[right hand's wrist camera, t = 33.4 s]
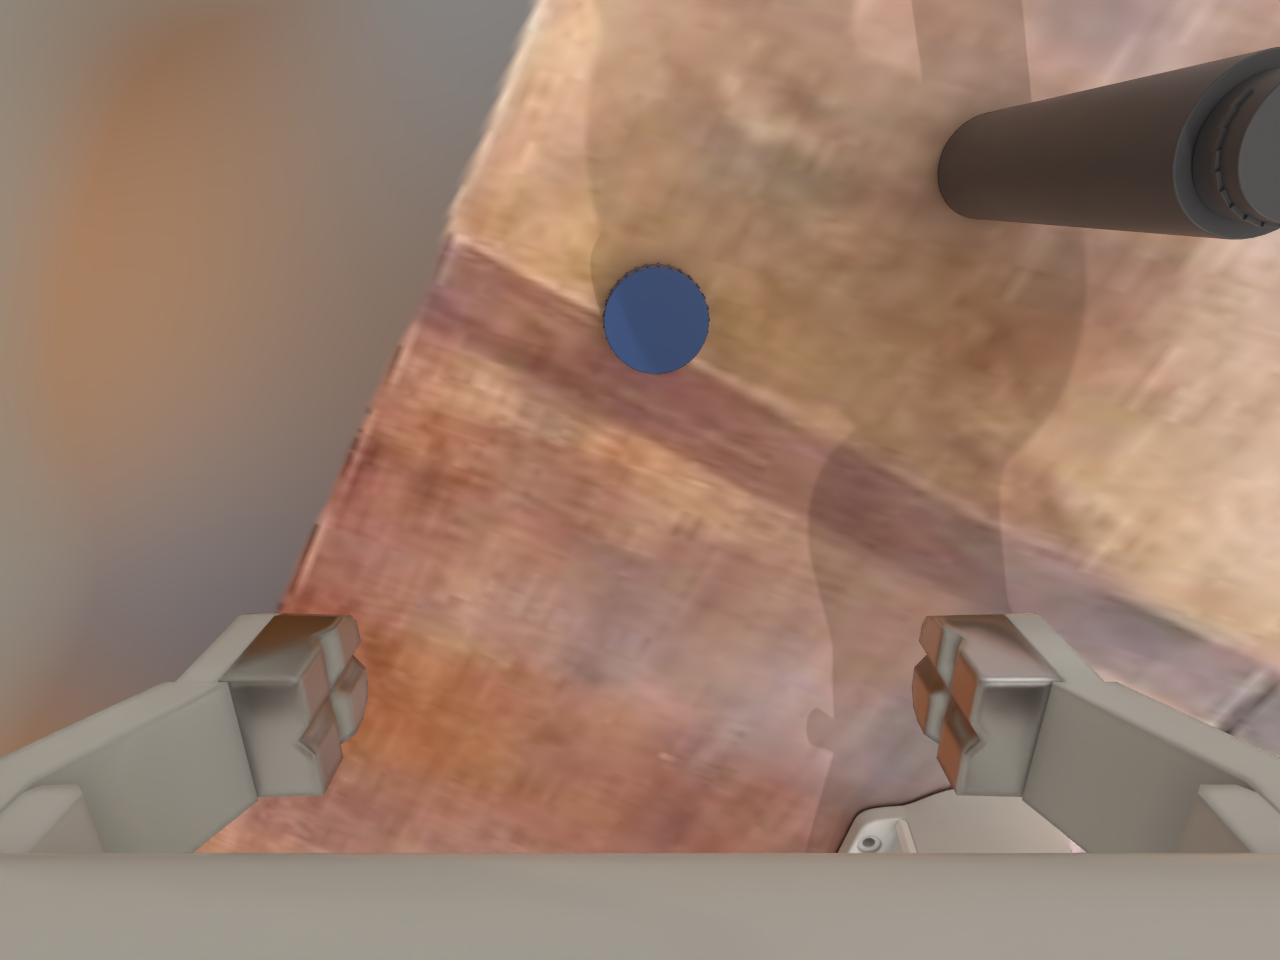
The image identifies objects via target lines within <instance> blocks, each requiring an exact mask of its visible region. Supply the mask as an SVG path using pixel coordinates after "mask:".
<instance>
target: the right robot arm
mask: <svg viewBox="0 0 1280 960" xmlns="http://www.w3.org/2000/svg"><path fill="white" fill-rule="evenodd" d="M360 642H361V639H360V634H359V629H358V625H357V621H356V620H355V619H354V618H353V617H352V616H351V615H330V614H278V613H252V614H251V613H250V614H244V615H240V616H238V617H237V618H236V619H235V620H234V621H233V622H232V623H231V624H230V625H229V626H228V627H227V628H226V630H225V631H224V632H223V633H222V634H221V635H220V636H219V637H218V638H217V639H216V640H215V641H214V642H213V643H212V644H211V645H210V646H209V647H208V648H207V649H206V650H205V651H204V653H203V654H202V655H201V656H200V657H199V658H198V659H197V660H196V661H195V662H194V663H193V664H192V665H191V666H190V667H189V668H188V669H187V670H186V671H185V672H184V673H183V674H182V676H181V677H180V678H179V679H178V680H177V681H176V682H163V683H160V684H158V685H156V686H154V687H152V688H150V689H147V690H145V691H143V692H141V693H139V694H137V695H134V696H132V697H130V698H128V699H126V700H124V701H121V702H119V703H117V704H115V705H113V706H111V707H109V708H106V709H104V710H102V711H100V712H98V713H96V714H93V715H91V716H89V717H87V718H85V719H83V720H81V721H78V722H76V723H74V724H72V725H70V726H68V727H65V728H63V729H61V730H59V731H57V732H55V733H53V734H50V735H48V736H46V737H44V738H42V739H40V740H37V741H35V742H33V743H31V744H29V745H27V746H24V747H22V748H20V749H18V750H16V751H14V752H11V753H9V754H7V755H5V756H3V757H1V758H0V960H1280V758H1279V757H1277V756H1275V755H1272V754H1270V753H1268V752H1266V751H1264V750H1262V749H1260V748H1257V747H1255V746H1253V745H1251V744H1249V743H1247V742H1244V741H1242V740H1240V739H1238V738H1236V737H1234V736H1232V735H1229V734H1227V733H1225V732H1223V731H1221V730H1219V729H1217V728H1214V727H1212V726H1210V725H1208V724H1206V723H1204V722H1201V721H1199V720H1197V719H1195V718H1193V717H1191V716H1189V715H1186V714H1184V713H1182V712H1180V711H1178V710H1176V709H1173V708H1171V707H1169V706H1167V705H1165V704H1163V703H1161V702H1158V701H1156V700H1154V699H1152V698H1150V697H1148V696H1145V695H1143V694H1141V693H1139V692H1137V691H1135V690H1133V689H1130V688H1128V687H1126V686H1124V685H1122V684H1120V683H1118V682H1104V681H1103V680H1102V679H1101V678H1100V676H1099V675H1098V674H1097V673H1096V672H1095V671H1094V670H1093V669H1092V668H1091V667H1090V666H1089V665H1088V664H1087V663H1086V662H1085V661H1084V660H1083V659H1082V658H1081V657H1080V656H1079V654H1078V653H1077V652H1076V651H1075V650H1074V649H1073V648H1072V647H1071V646H1070V645H1069V644H1068V643H1067V642H1066V641H1065V640H1064V639H1063V638H1062V637H1061V636H1060V635H1059V634H1058V633H1057V631H1056V630H1055V629H1054V628H1053V627H1052V626H1051V625H1050V624H1049V623H1048V622H1047V621H1046V620H1045V619H1044V618H1043V617H1042V616H1040V615H1037V614H1035V613H1014V614H992V615H952V616H926V618H925V621H924V623H923V625H922V628H921V633H920V639H919V642H920V644H921V645H922V647H923V649H924V650H925V652H926V653H927V655H926V656H925V657H924V658H923V659H922V660H921V661H920V662H919V663H918V664H917V665H916V666H915V667H914V675H913V682H912V695H913V707H914V710H915V713H916V717H917V720H918V723H919V725H920V727H921V729H922V731H923V733H924V734H925V735H926V736H928V737H929V738H931V739H932V740H934V741H935V742H937V743H938V744H939V748H938V753H937V759H938V761H939V763H940V765H941V767H942V769H943V771H944V772H945V774H946V776H947V778H948V780H949V782H950V784H951V786H952V787H953V789H951V790H947V791H943V792H939V793H937V794H934V795H931V796H928V797H926V798H923V799H921V800H918V801H916V802H913V803H910V804H906V805H903V806H889V807H879V808H873V809H869V810H866V811H863V812H861V813H860V814H859V815H858V816H857V817H856V818H855V820H854V822H853V824H852V826H851V828H850V829H849V831H848V833H847V835H846V837H845V839H844V841H843V843H842V845H841V847H840V849H839V851H838V853H193V852H194V851H196V850H197V849H198V848H199V847H201V846H202V845H203V844H204V843H206V842H207V841H208V840H209V839H211V838H212V837H213V836H214V835H216V834H217V833H218V832H219V831H221V830H222V829H223V828H224V827H226V826H227V825H228V824H229V823H231V822H232V821H233V820H234V819H236V818H237V817H238V816H239V815H240V814H242V813H243V812H244V811H245V810H247V809H248V808H249V807H250V806H252V805H253V804H254V803H255V802H257V801H258V797H278V796H313V795H324V793H325V791H326V789H327V788H328V786H329V784H330V782H331V780H332V778H333V776H334V774H335V773H336V771H337V769H338V767H339V765H340V763H341V761H342V759H343V753H342V748H341V744H342V743H343V742H345V741H346V740H348V739H349V738H351V737H352V736H354V735H355V734H356V733H357V730H358V728H359V726H360V724H361V722H362V720H363V718H364V713H365V709H366V704H367V700H368V680H367V674H366V667H365V666H364V665H363V664H362V663H361V662H360V661H359V660H358V659H357V658H356V657H355V656H354V655H353V653H354V652H355V650H356V649H357V647H358V645H359V644H360ZM1068 838H1070V839H1071V840H1072V841H1073V842H1075V843H1076V844H1077V845H1078V846H1080V847H1081V848H1082V849H1083V850H1085V851H1086V852H1087V853H1072V850H1071V847H1070V844H1069V840H1068Z"/></svg>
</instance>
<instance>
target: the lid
mask: <svg viewBox="0 0 1280 960" xmlns="http://www.w3.org/2000/svg"><path fill="white" fill-rule="evenodd" d="M699 289H700V287H699V286H698V284H697V283H696V284H695V283H694V282H693V281H692V278H691V276H690V275H688V276H687V275H686V274H685V273H683V272H682V270H681V269H679V270H678V269H675V268H673V267H671V265H668V266H666V265H660V264H659V263H657V265H648V264H646V266H642V267H639V268H637V267H635V269H634V270H633V271H631V272H629V273H627V272H626V273H625V276H624V277H623V278H622V279H621V280H620V281H619V280H617V282H616V285H615V287H614V288H613V290H612V289H611V290H610V293H609V294H610V296H609V299H608V300H606V303H605V305H606V309H605V311H604V313H603V317H604V325H603V328H605V334H606V340H608V343H609V345H610V347H611V349H612V350H613V352H614V353H615V354H616V356H617V357H618V358H619V359H620V360H621V361H622V362H624V363H625V364H626V365H628V366H629V367H631V368H633V369H635V370H638V371H640V372H644V373H650V374H662V373H668V372H672V371H674V370H677V369H679V368H681V367H683V366H684V365H686V364H687V363H689V362H690V361H691V360H692V359H693V358H694V357H695V356H696V355H697V354H698V352H699V351H700V349H701V348H702V346H703V344H704V342H705V339H706V336H707V333H708V327H709V321H710V319H709V314H708V310H709V308H708V306H707V304H706V302H705V296H704V294H703V293H701V292H700V290H699Z"/></svg>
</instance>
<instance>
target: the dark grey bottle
mask: <svg viewBox="0 0 1280 960" xmlns="http://www.w3.org/2000/svg"><path fill="white" fill-rule="evenodd" d="M938 181H939V187H940V191H941V193H942V196H943V198H944V199H945V201H946V203H947V204H948V205H949V206H950V207H951V208H952V209H953V210H954V211H955V212H957V213H958V214H960V215H962V216H965V217H968V218H973V219H983V220H996V221H1008V222H1020V223H1033V224H1045V225H1058V226H1070V227H1083V228H1095V229H1108V230H1120V231H1132V232H1145V233H1157V234H1170V235H1182V236H1195V237H1207V238H1220V239H1247V238H1254V237H1257V236H1261V235H1265V234H1267V233H1270V232H1272V231H1275V230H1277V229H1279V228H1280V47H1275V48H1270V49H1266V50H1261V51H1257V52H1252V53H1248V54H1244V55H1239V56H1235V57H1230V58H1226V59H1222V60H1217V61H1213V62H1208V63H1204V64H1200V65H1195V66H1191V67H1187V68H1182V69H1178V70H1173V71H1169V72H1165V73H1160V74H1156V75H1151V76H1147V77H1143V78H1138V79H1134V80H1129V81H1125V82H1121V83H1116V84H1112V85H1107V86H1103V87H1099V88H1094V89H1090V90H1085V91H1081V92H1077V93H1072V94H1068V95H1063V96H1059V97H1055V98H1050V99H1046V100H1041V101H1037V102H1033V103H1028V104H1024V105H1019V106H1015V107H1011V108H1006V109H1002V110H997V111H993V112H989V113H985V114H981V115H979V116H976V117H974V118H972V119H970V120H969V121H967V122H966V123H964V124H963V125H962V126H961V127H960V128H959V129H958V130H957V131H956V132H955V133H954V134H953V135H952V136H951V138H950V139H949V141H948V142H947V144H946V146H945V148H944V150H943V153H942V155H941V158H940V162H939V169H938Z"/></svg>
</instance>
